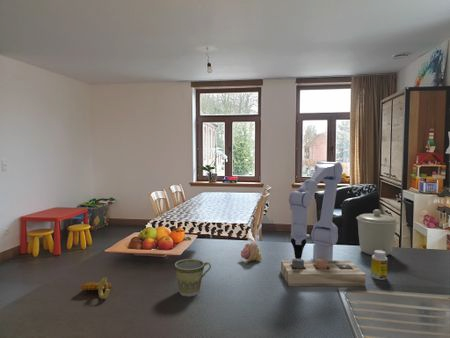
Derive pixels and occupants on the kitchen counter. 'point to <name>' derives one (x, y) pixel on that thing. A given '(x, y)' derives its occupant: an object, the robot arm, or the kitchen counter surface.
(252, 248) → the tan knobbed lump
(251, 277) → the kitchen counter surface
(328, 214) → the robot arm
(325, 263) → the knob middle
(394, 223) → the canister
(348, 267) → the knob
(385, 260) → the supplement bottle
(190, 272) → the ceramic cup
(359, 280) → the mount
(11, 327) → the kitchen counter surface
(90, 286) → the ornament
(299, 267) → the knob
